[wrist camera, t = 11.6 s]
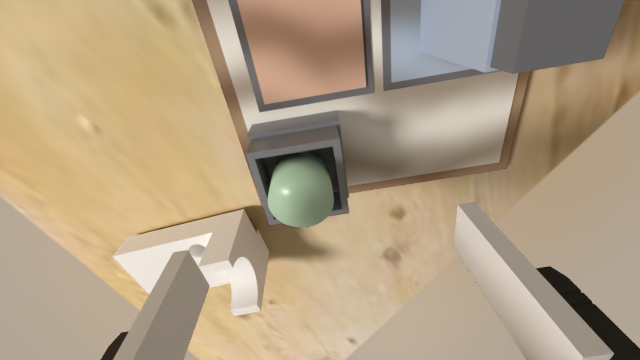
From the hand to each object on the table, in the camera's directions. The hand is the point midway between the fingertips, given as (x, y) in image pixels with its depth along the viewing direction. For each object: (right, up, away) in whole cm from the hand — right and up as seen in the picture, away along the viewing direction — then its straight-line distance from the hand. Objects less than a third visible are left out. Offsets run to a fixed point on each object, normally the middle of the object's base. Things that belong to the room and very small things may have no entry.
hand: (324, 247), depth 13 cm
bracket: (-13, -3, +17) cm, 22 cm away
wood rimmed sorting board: (+4, +11, +8) cm, 15 cm away
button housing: (-2, +6, +11) cm, 13 cm away
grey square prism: (+9, +15, +5) cm, 18 cm away
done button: (-2, +3, +7) cm, 8 cm away
